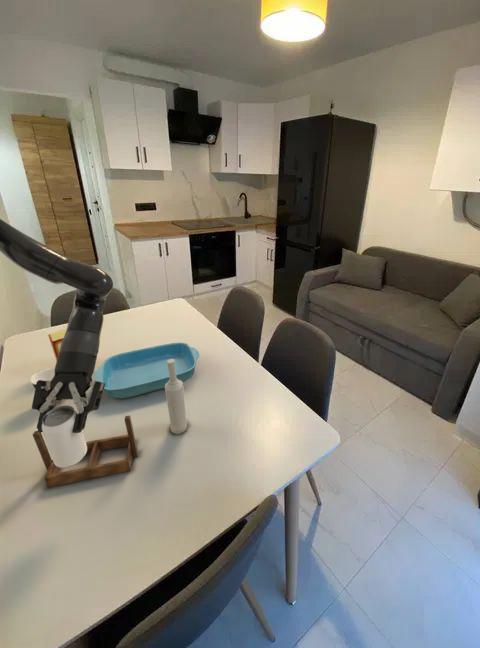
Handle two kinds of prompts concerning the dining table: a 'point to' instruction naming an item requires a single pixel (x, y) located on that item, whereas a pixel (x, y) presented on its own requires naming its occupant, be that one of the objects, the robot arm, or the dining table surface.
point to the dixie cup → (43, 377)
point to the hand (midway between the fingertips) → (59, 432)
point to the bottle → (175, 400)
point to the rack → (94, 448)
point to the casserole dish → (145, 369)
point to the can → (63, 436)
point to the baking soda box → (56, 341)
